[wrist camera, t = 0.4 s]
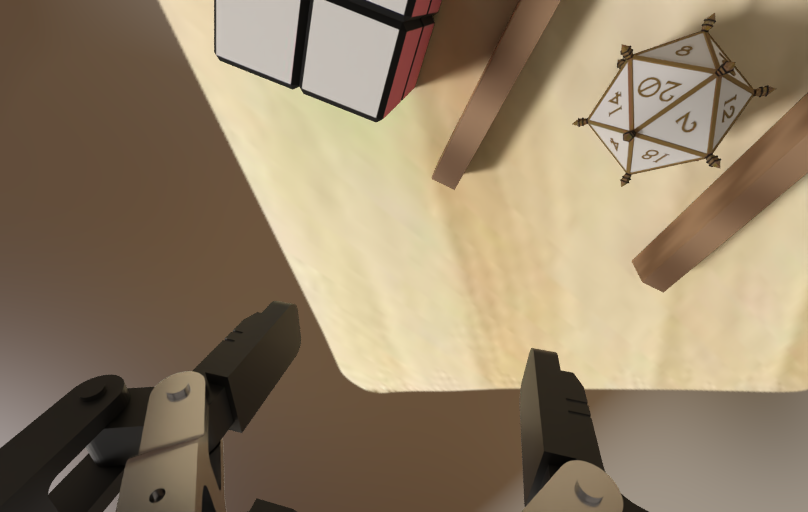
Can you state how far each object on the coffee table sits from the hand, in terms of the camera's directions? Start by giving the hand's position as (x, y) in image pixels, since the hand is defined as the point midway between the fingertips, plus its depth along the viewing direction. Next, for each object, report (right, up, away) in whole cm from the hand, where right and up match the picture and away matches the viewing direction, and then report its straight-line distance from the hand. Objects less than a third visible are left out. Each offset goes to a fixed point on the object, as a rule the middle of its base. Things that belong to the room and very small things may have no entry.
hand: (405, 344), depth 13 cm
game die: (+16, +14, +13) cm, 25 cm away
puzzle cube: (-2, +21, +13) cm, 25 cm away
